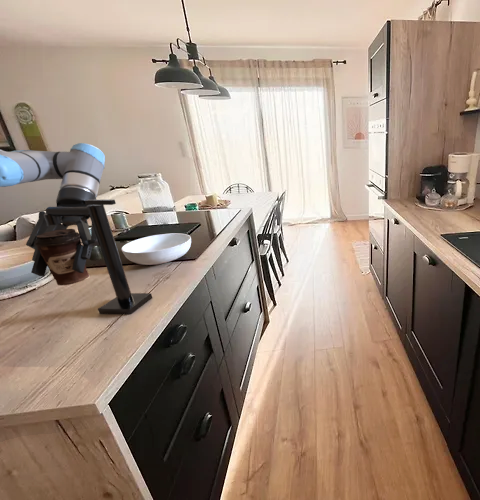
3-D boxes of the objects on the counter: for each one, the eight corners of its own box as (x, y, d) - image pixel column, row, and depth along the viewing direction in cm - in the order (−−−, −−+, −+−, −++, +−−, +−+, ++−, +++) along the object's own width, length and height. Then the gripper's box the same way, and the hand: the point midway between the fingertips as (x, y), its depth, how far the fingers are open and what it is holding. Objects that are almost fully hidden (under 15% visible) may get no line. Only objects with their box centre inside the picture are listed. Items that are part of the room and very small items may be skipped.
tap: (66, 313, 71) (21, 203, 61) (94, 297, 79) (57, 196, 69) (132, 314, 71) (97, 203, 61) (154, 298, 78) (126, 196, 68)
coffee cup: (101, 278, 75) (85, 231, 70) (59, 291, 68) (38, 240, 64) (87, 270, 79) (71, 225, 75) (46, 282, 73) (26, 234, 68)
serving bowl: (153, 249, 114) (149, 232, 112) (205, 249, 113) (201, 233, 111) (110, 271, 95) (104, 251, 92) (172, 272, 94) (167, 252, 91)
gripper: (128, 200, 83) (115, 273, 74) (45, 203, 79) (20, 282, 70) (113, 184, 77) (96, 263, 68) (21, 187, 73) (-10, 271, 64)
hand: (58, 272), depth 69 cm, fingers closed on coffee cup, 7 cm apart
